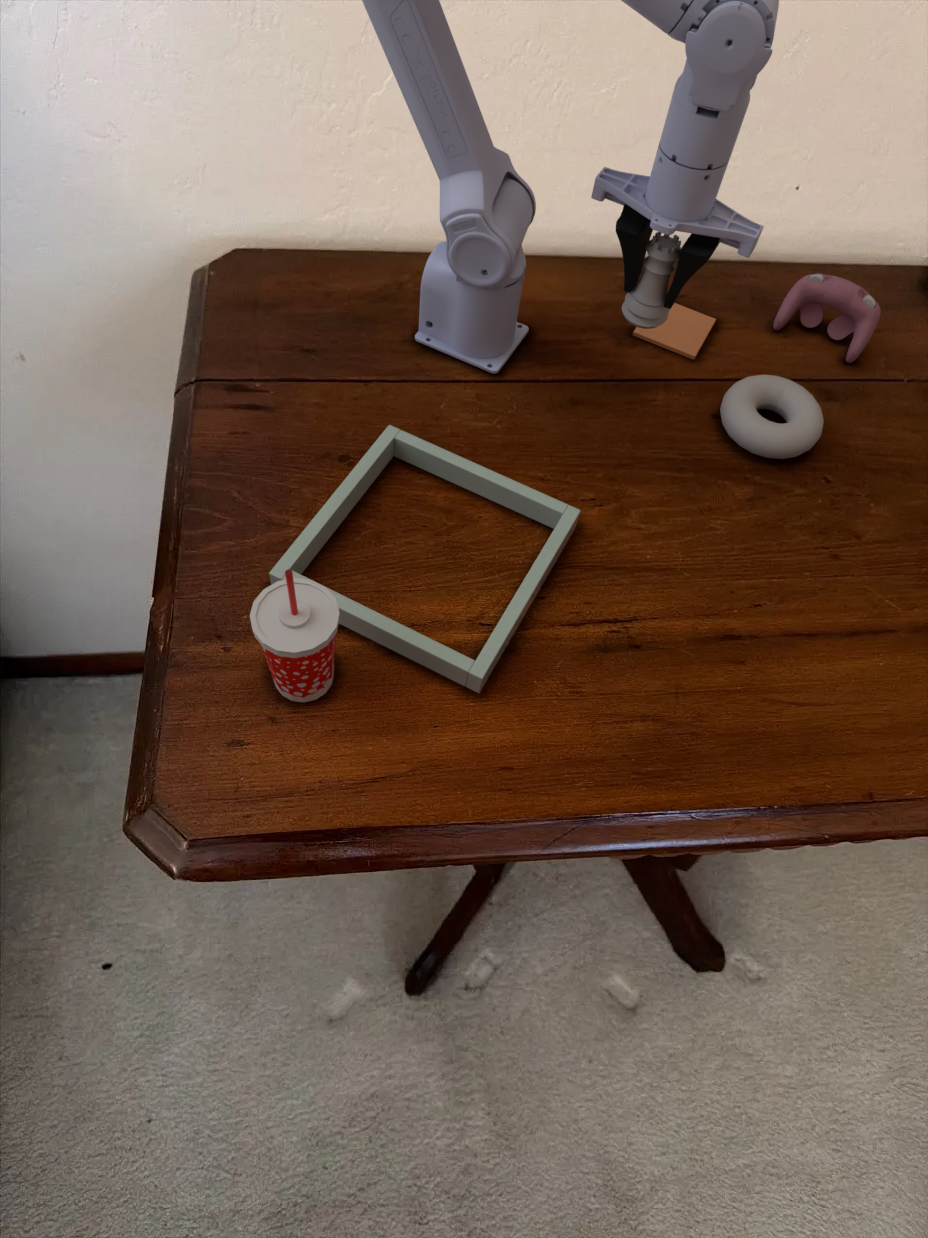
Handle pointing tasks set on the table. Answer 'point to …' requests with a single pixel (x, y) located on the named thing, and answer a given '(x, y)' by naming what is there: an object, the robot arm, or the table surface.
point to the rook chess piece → (653, 284)
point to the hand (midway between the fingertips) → (650, 293)
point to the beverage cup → (297, 635)
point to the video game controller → (840, 296)
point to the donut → (764, 433)
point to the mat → (679, 331)
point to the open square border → (464, 476)
